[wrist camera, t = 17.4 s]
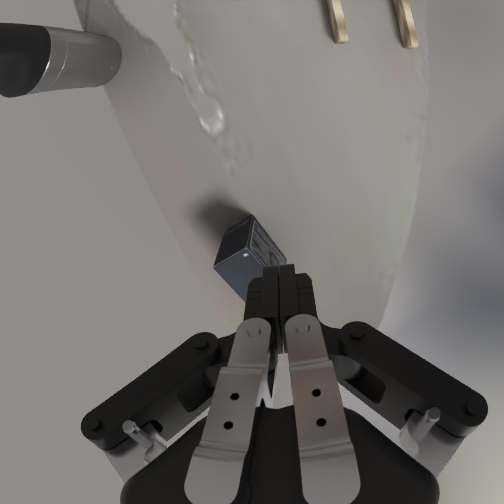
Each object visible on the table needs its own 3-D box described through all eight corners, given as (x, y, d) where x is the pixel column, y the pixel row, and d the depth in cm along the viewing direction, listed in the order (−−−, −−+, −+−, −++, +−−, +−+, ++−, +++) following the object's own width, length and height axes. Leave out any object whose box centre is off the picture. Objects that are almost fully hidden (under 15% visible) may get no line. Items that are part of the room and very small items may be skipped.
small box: (221, 233, 48) (209, 267, 39) (252, 213, 46) (247, 245, 37) (257, 275, 52) (253, 315, 43) (287, 259, 50) (290, 297, 41)
